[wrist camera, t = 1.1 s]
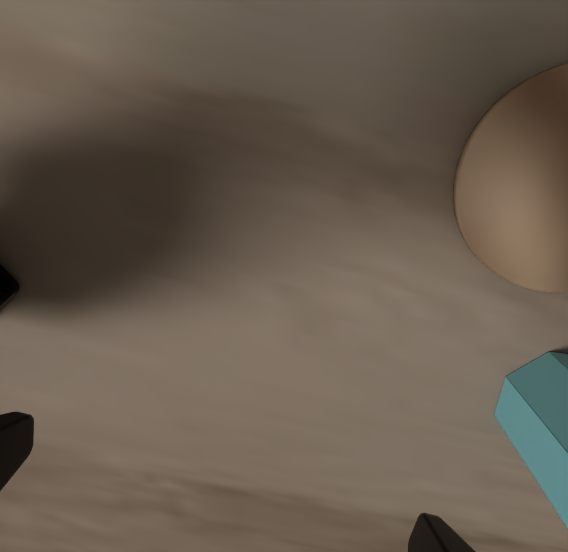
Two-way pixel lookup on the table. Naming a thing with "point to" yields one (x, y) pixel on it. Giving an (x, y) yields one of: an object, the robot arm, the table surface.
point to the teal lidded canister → (540, 423)
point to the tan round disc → (519, 184)
